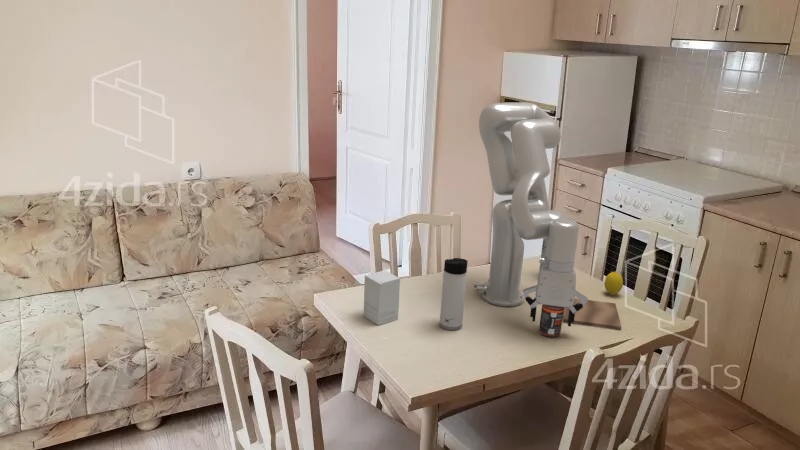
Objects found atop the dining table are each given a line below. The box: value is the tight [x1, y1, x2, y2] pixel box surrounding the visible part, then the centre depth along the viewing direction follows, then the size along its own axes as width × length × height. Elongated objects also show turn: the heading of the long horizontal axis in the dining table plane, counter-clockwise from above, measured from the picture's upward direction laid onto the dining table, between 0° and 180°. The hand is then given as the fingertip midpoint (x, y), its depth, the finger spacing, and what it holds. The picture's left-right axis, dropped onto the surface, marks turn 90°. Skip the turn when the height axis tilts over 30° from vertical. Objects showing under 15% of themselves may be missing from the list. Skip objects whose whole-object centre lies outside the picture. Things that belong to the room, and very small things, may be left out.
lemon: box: [604, 271, 624, 296], centre depth 203 cm, size 6×6×8 cm
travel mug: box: [439, 257, 469, 331], centre depth 175 cm, size 6×7×20 cm
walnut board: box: [562, 297, 622, 331], centre depth 190 cm, size 16×16×1 cm
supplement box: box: [363, 270, 401, 326], centre depth 179 cm, size 7×7×13 cm
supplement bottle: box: [538, 304, 564, 338], centre depth 176 cm, size 6×6×11 cm
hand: (551, 321), depth 176 cm, fingers open, 9 cm apart
